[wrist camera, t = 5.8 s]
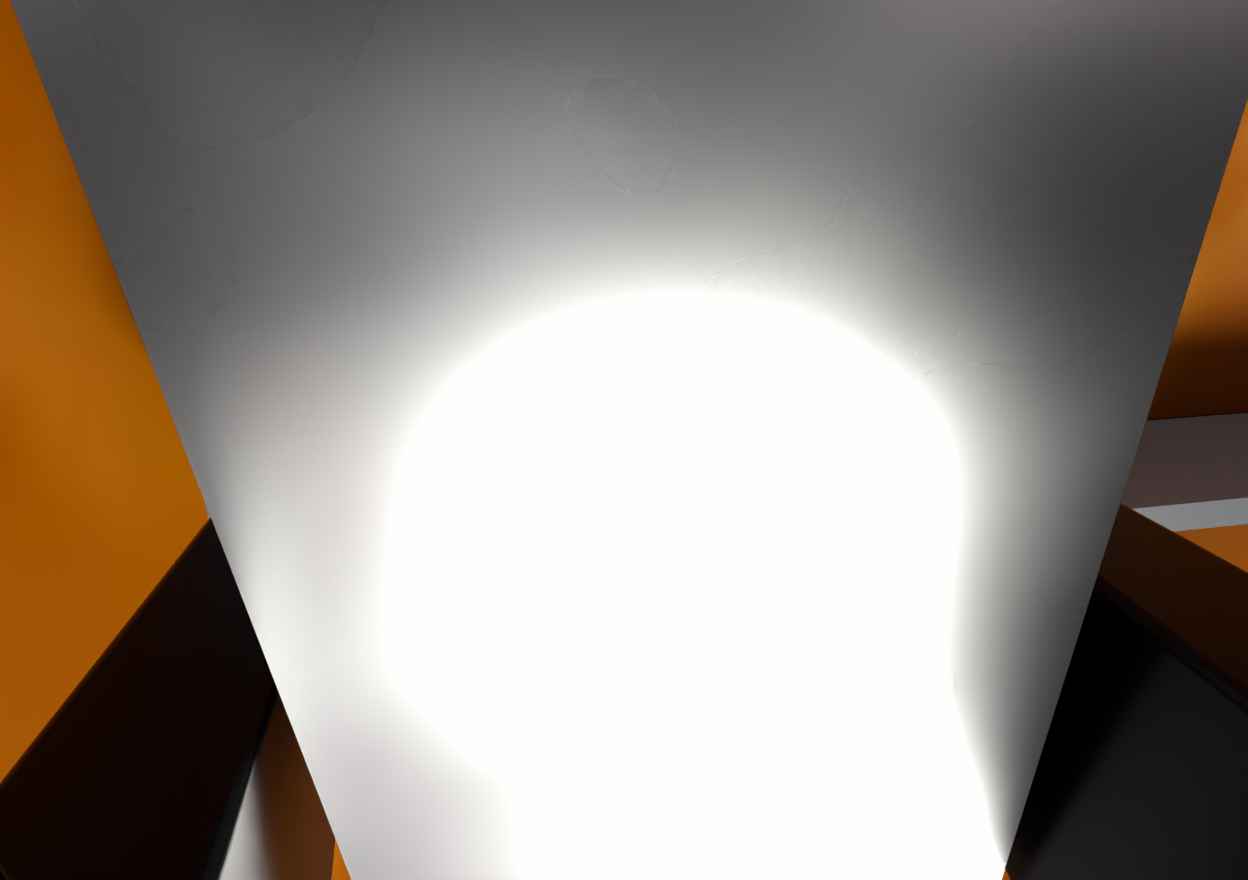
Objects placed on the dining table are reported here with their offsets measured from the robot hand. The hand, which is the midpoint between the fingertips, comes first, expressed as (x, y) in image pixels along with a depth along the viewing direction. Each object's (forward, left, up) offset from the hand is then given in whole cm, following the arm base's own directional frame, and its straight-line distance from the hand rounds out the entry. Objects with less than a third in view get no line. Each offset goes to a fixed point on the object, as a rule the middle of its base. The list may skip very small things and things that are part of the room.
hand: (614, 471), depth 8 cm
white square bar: (0, 0, -1) cm, 1 cm away
